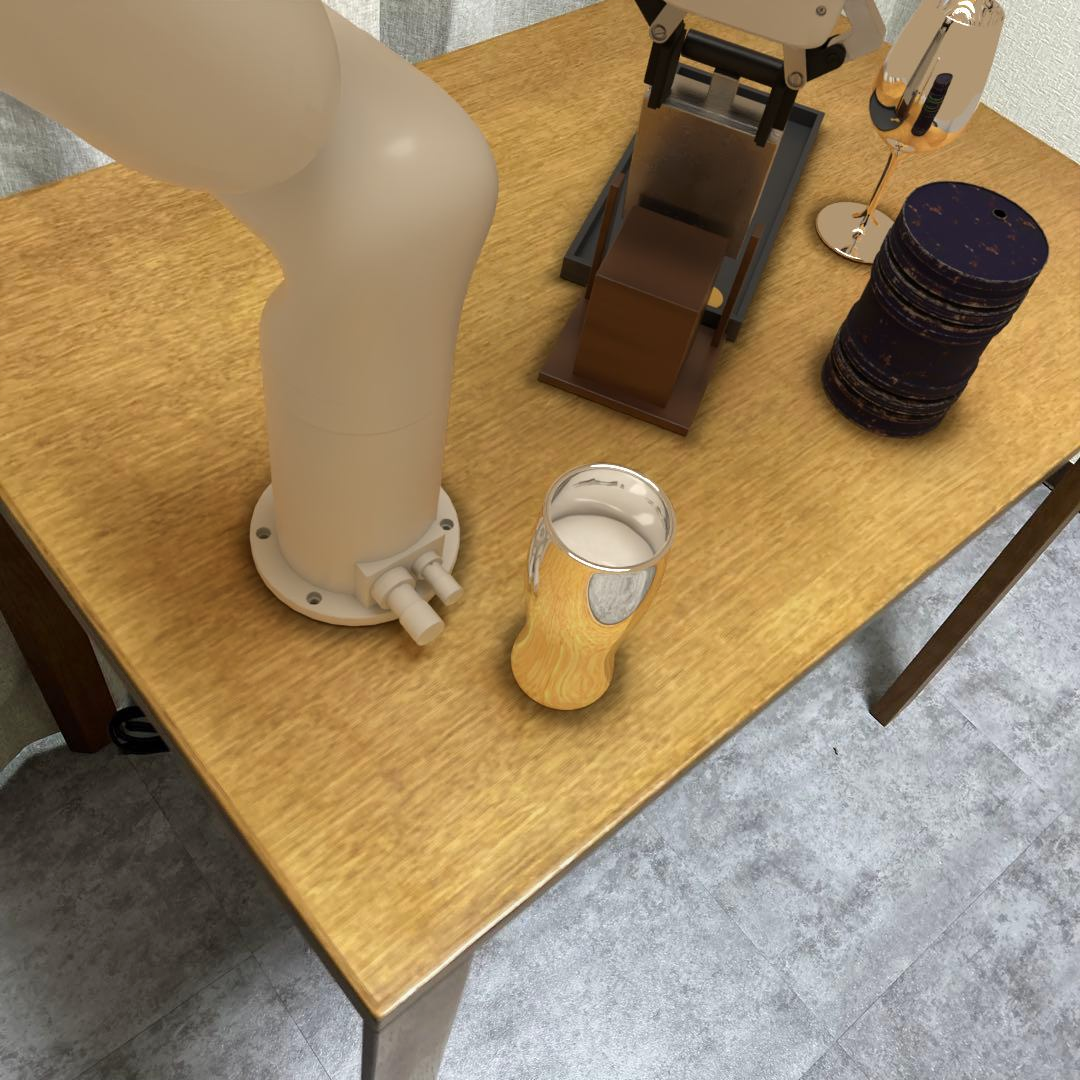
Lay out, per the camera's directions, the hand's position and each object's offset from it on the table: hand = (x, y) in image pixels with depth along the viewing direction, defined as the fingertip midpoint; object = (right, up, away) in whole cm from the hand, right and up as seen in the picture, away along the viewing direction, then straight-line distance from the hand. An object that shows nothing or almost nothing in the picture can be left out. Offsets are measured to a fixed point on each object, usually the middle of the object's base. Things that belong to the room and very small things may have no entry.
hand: (712, 113), depth 66 cm
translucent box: (0, -2, +4) cm, 5 cm away
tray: (+3, +3, +26) cm, 27 cm away
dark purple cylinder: (+15, -14, +17) cm, 27 cm away
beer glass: (-9, -33, -1) cm, 34 cm away
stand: (-3, -12, +14) cm, 19 cm away
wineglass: (+16, 0, +27) cm, 31 cm away
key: (+2, -6, +19) cm, 20 cm away
